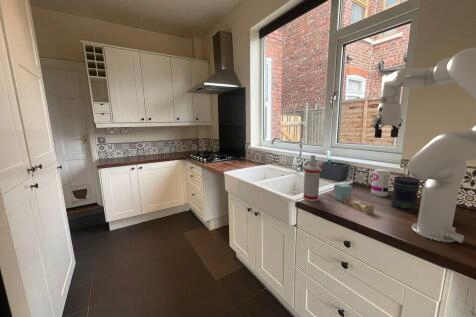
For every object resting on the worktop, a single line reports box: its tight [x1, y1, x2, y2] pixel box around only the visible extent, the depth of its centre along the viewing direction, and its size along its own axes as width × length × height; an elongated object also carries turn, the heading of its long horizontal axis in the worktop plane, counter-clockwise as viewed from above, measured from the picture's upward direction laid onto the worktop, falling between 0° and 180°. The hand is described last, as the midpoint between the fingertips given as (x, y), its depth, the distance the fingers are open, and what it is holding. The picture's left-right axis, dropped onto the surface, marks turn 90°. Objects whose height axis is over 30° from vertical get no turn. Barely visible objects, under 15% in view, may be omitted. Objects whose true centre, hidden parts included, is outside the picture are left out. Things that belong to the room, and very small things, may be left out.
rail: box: [332, 184, 375, 215], centre depth 107 cm, size 23×4×8 cm, turn 13°
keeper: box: [334, 183, 353, 202], centre depth 114 cm, size 5×6×8 cm
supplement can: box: [370, 168, 391, 197], centre depth 121 cm, size 8×8×15 cm
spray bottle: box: [302, 154, 321, 202], centre depth 114 cm, size 8×8×25 cm
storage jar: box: [390, 175, 421, 213], centre depth 103 cm, size 10×10×15 cm
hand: (385, 137), depth 99 cm, fingers open, 9 cm apart
